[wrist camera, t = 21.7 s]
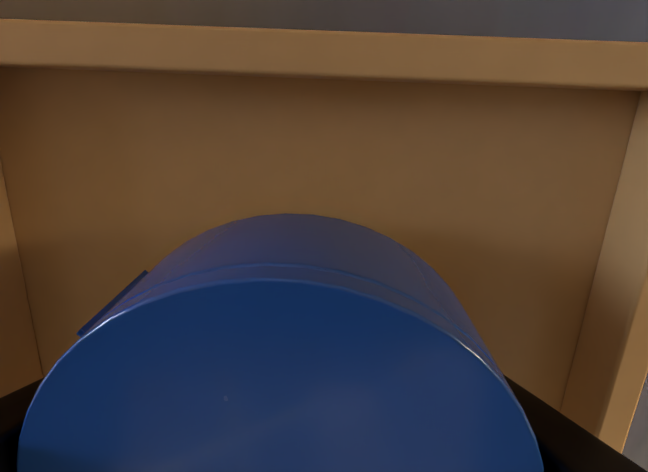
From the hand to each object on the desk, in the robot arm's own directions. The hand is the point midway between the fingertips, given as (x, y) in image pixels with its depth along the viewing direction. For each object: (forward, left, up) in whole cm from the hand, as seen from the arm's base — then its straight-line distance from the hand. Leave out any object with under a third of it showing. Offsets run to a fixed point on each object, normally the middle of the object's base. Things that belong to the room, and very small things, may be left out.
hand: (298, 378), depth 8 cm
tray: (0, 0, -1) cm, 1 cm away
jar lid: (0, 0, +2) cm, 2 cm away
